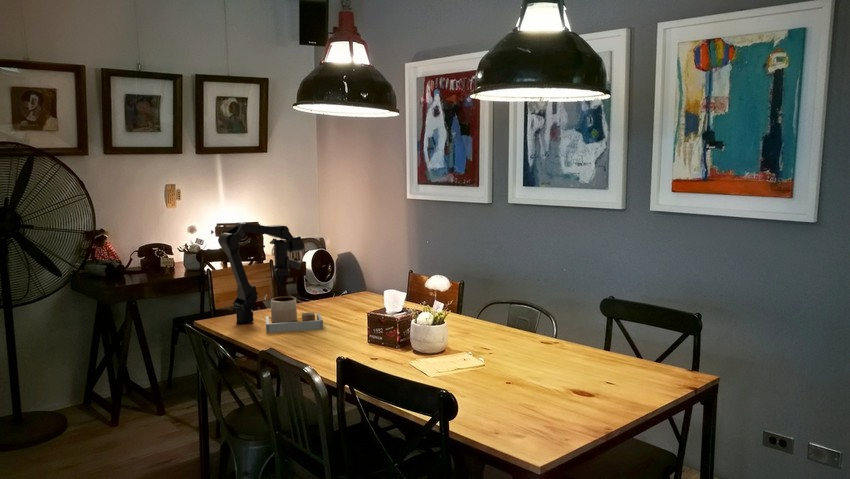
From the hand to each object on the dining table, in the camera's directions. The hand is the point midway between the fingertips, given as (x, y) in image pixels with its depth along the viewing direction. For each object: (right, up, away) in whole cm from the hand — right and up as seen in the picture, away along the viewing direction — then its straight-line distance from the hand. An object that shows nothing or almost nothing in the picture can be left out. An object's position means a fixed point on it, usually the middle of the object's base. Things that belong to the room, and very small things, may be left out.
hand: (282, 288), depth 299 cm
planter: (+3, -13, -10) cm, 17 cm away
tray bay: (+9, -14, -20) cm, 27 cm away
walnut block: (+15, -14, -18) cm, 27 cm away
